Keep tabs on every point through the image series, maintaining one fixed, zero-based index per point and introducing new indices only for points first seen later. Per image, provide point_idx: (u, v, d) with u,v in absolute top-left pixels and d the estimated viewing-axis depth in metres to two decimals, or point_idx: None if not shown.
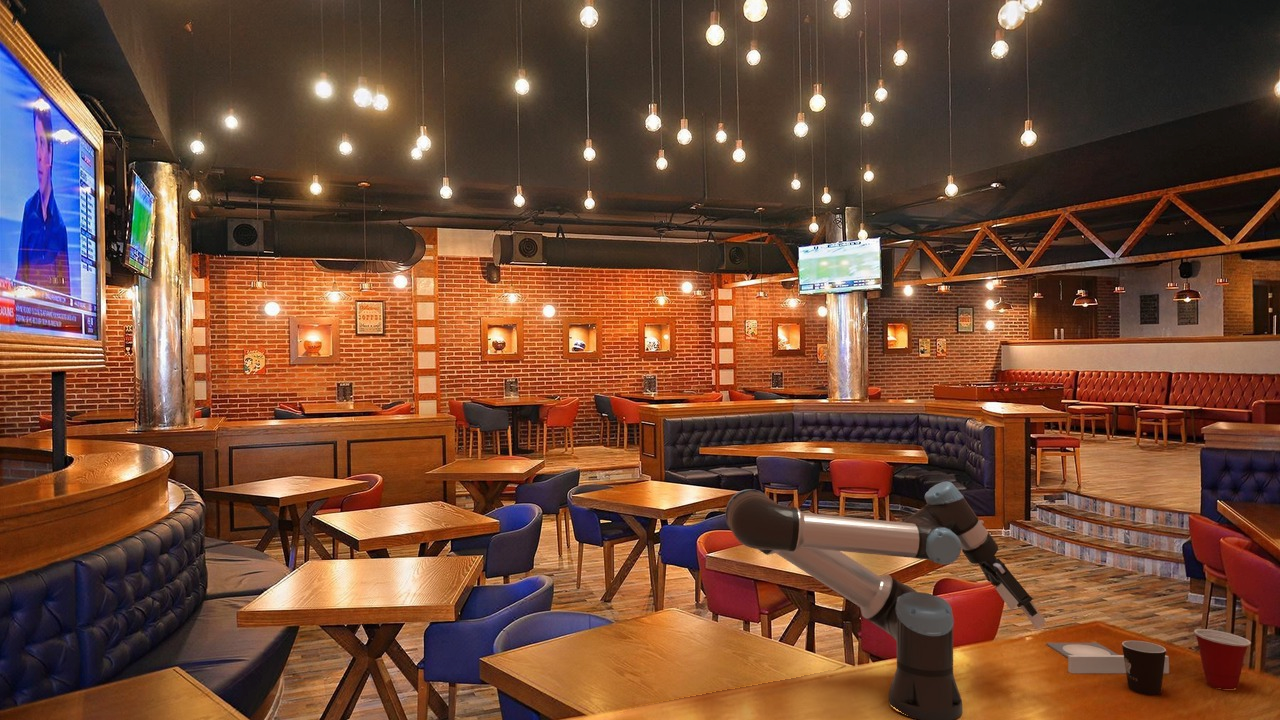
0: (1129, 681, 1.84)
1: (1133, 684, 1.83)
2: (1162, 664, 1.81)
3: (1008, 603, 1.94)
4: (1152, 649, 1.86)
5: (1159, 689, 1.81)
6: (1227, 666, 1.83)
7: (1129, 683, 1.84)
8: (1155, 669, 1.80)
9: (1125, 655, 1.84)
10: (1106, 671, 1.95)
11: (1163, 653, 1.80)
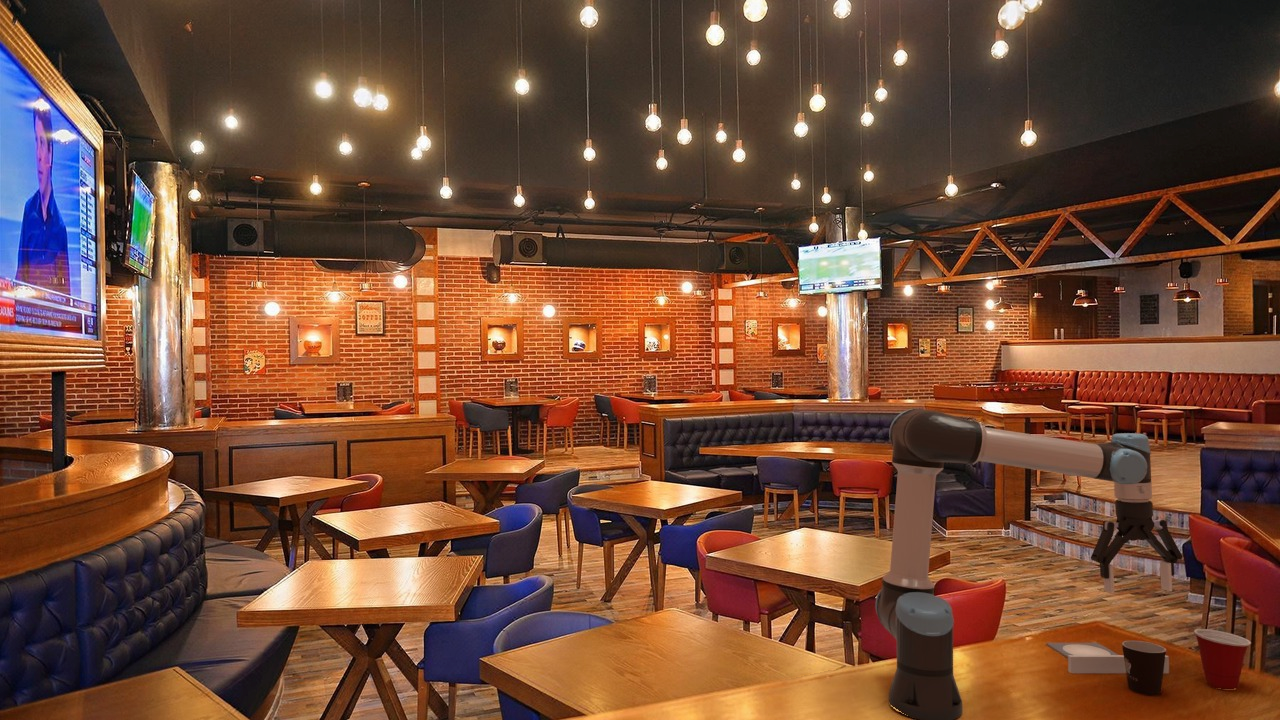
0: (1129, 681, 1.84)
1: (1133, 684, 1.83)
2: (1162, 664, 1.81)
3: (1162, 581, 1.87)
4: (1152, 649, 1.86)
5: (1159, 689, 1.81)
6: (1227, 666, 1.83)
7: (1129, 683, 1.84)
8: (1155, 669, 1.80)
9: (1125, 655, 1.84)
10: (1106, 671, 1.95)
11: (1163, 653, 1.80)
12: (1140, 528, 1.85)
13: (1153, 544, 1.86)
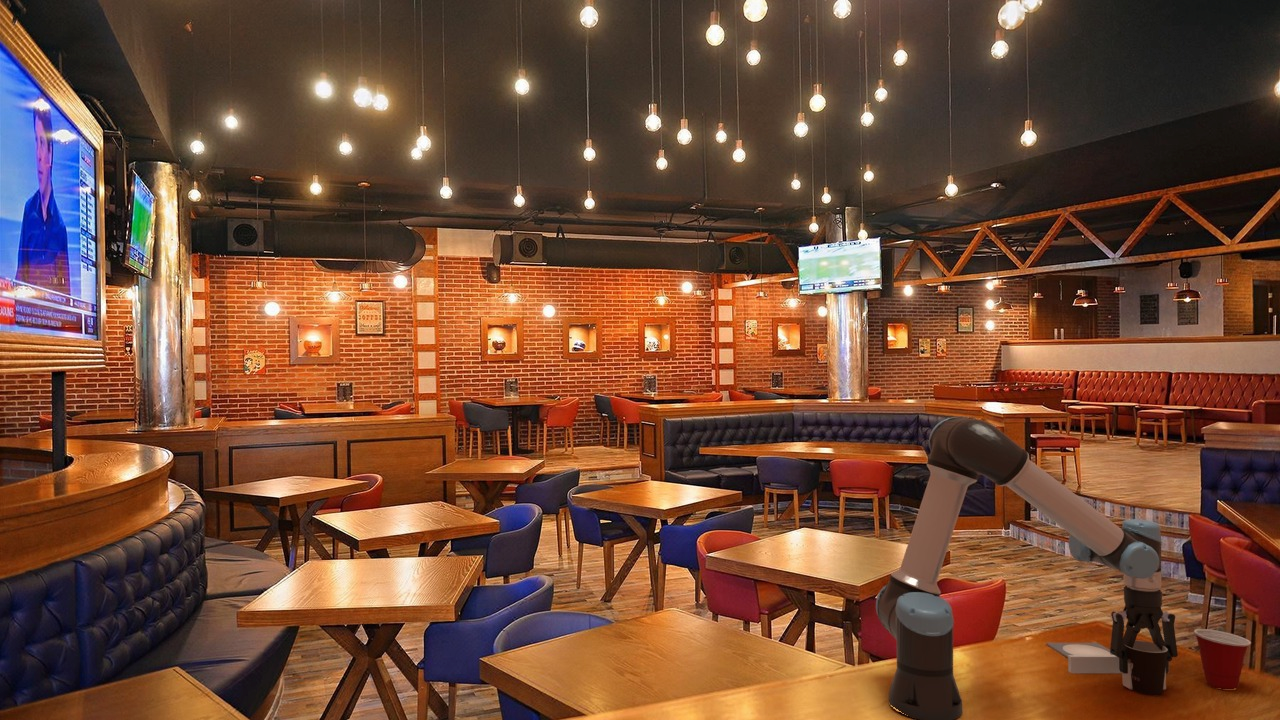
0: None
1: (1135, 684, 1.83)
2: (1164, 664, 1.81)
3: None
4: (1153, 649, 1.86)
5: (1161, 689, 1.81)
6: (1227, 666, 1.83)
7: None
8: (1157, 669, 1.80)
9: None
10: (1106, 671, 1.95)
11: (1165, 653, 1.81)
12: (1148, 615, 1.84)
13: (1154, 636, 1.85)
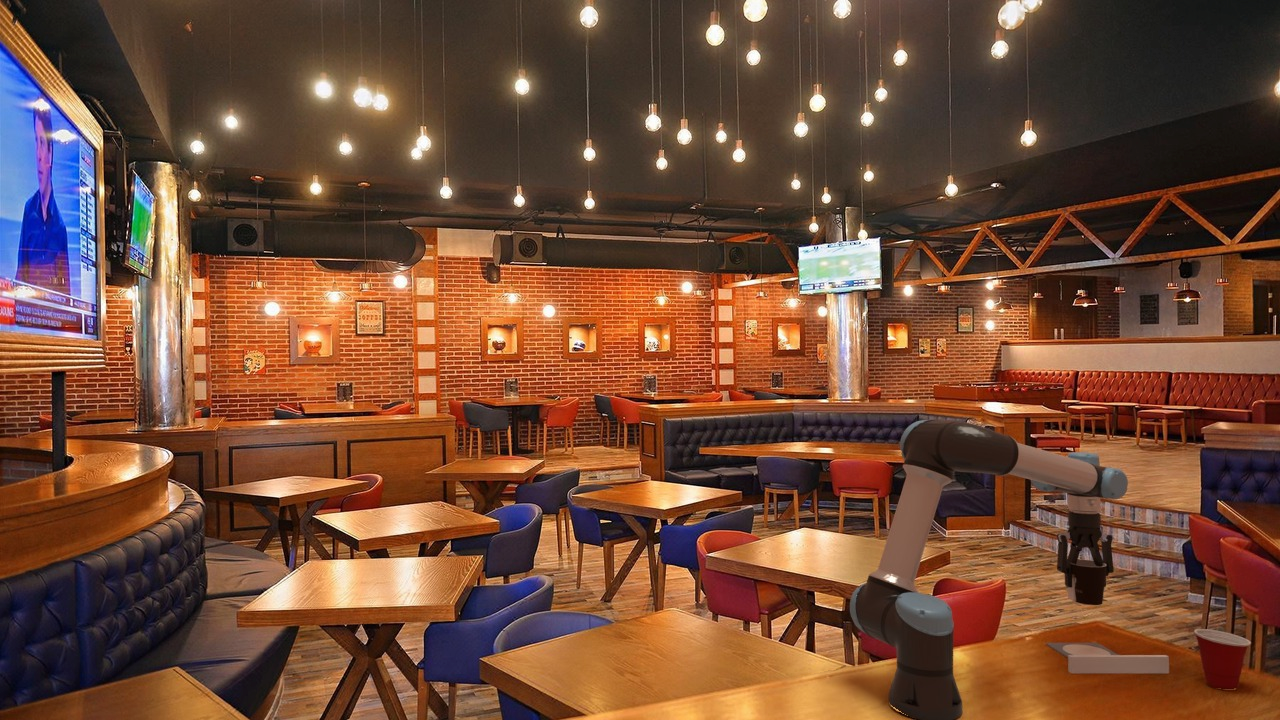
0: (1075, 594, 2.08)
1: (1078, 596, 2.07)
2: (1103, 577, 2.05)
3: None
4: (1095, 566, 2.11)
5: (1100, 599, 2.05)
6: (1227, 666, 1.83)
7: None
8: (1097, 581, 2.05)
9: None
10: (1106, 671, 1.95)
11: (1104, 567, 2.05)
12: (1089, 536, 2.09)
13: (1094, 554, 2.09)
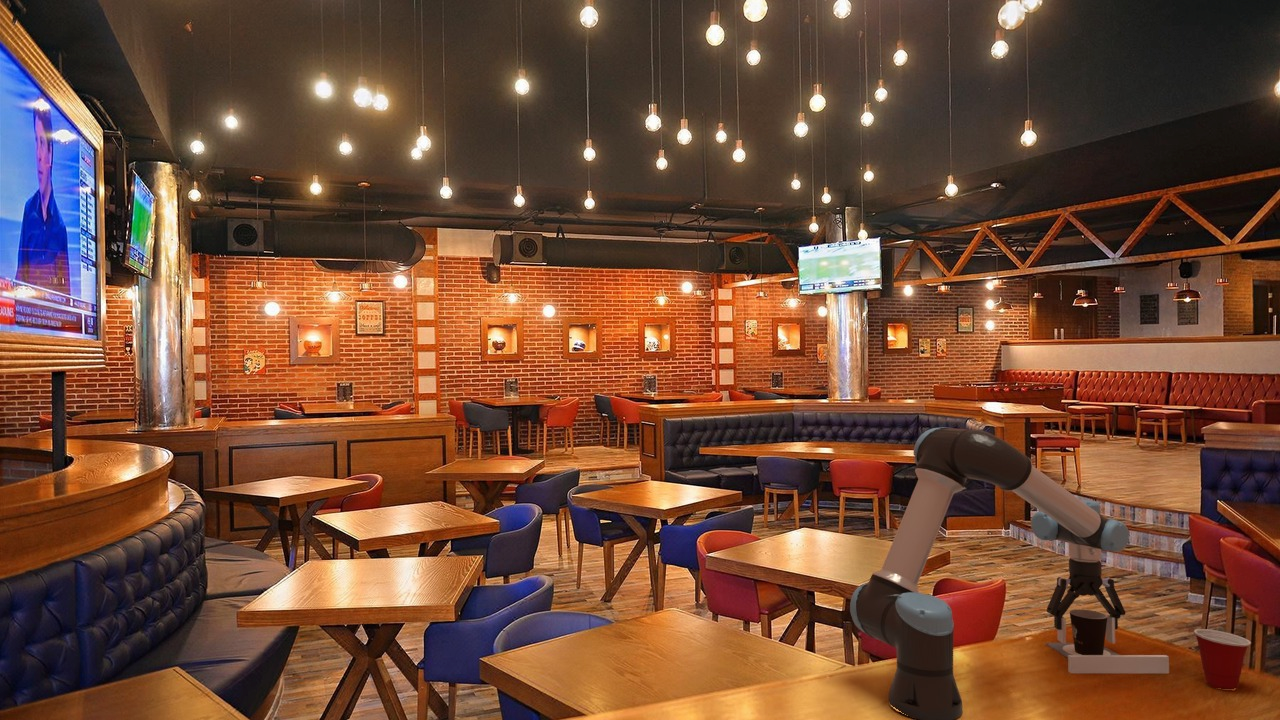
0: (1075, 645, 2.08)
1: (1079, 647, 2.07)
2: (1104, 629, 2.05)
3: (1107, 633, 2.10)
4: (1096, 616, 2.10)
5: (1101, 651, 2.05)
6: (1227, 666, 1.83)
7: (1075, 646, 2.08)
8: (1098, 633, 2.04)
9: (1072, 622, 2.08)
10: (1106, 671, 1.95)
11: (1105, 619, 2.05)
12: (1089, 585, 2.08)
13: (1100, 600, 2.09)
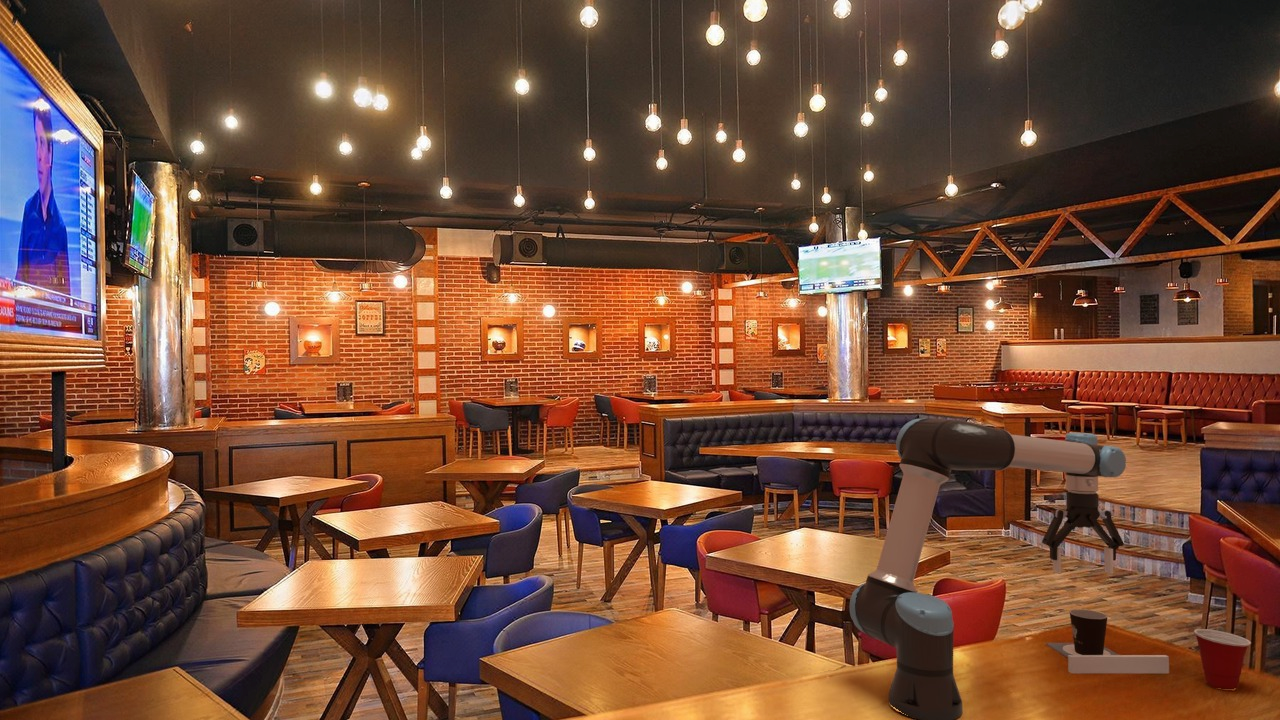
0: (1075, 645, 2.08)
1: (1079, 647, 2.07)
2: (1104, 629, 2.05)
3: (1105, 565, 2.11)
4: (1096, 616, 2.10)
5: (1101, 651, 2.05)
6: (1227, 666, 1.83)
7: (1075, 646, 2.08)
8: (1098, 633, 2.04)
9: (1072, 622, 2.08)
10: (1106, 671, 1.95)
11: (1105, 619, 2.05)
12: (1086, 517, 2.09)
13: (1098, 532, 2.10)
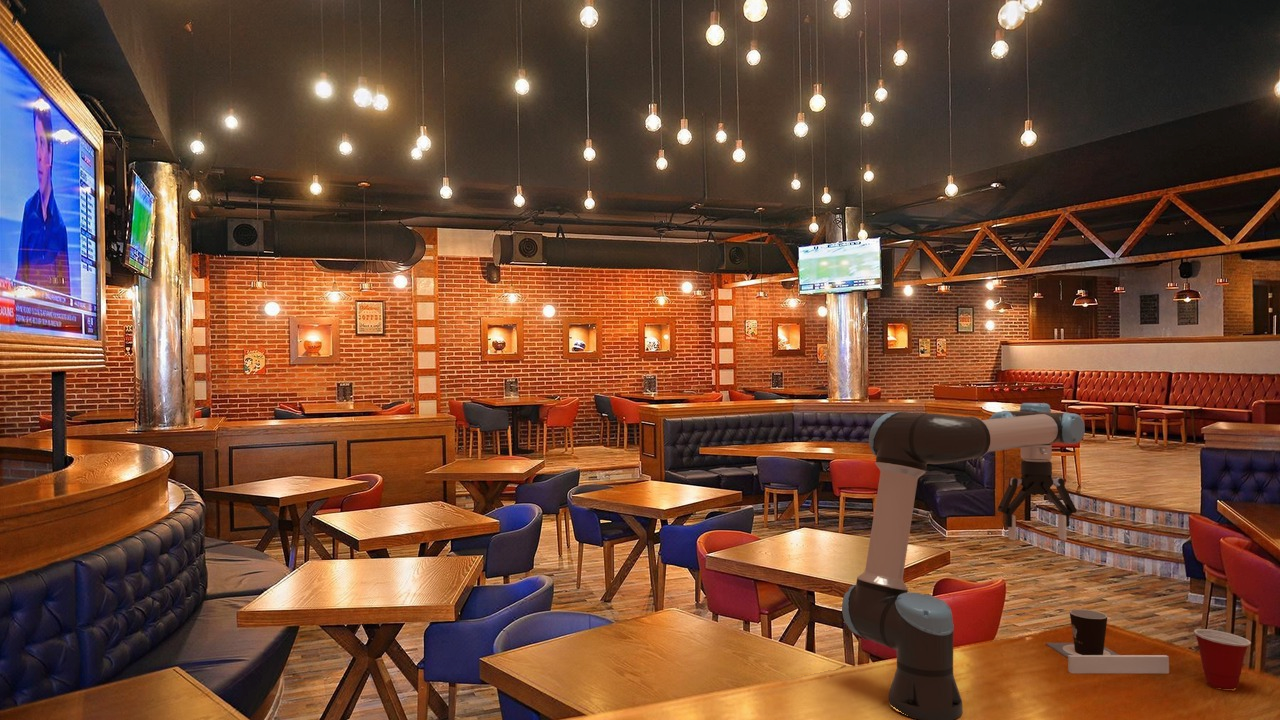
0: (1075, 645, 2.08)
1: (1079, 647, 2.07)
2: (1104, 629, 2.05)
3: (1059, 532, 2.16)
4: (1096, 616, 2.10)
5: (1101, 651, 2.05)
6: (1227, 666, 1.83)
7: (1075, 646, 2.08)
8: (1098, 633, 2.04)
9: (1072, 622, 2.08)
10: (1106, 671, 1.95)
11: (1105, 619, 2.05)
12: (1040, 484, 2.14)
13: (1052, 499, 2.15)
